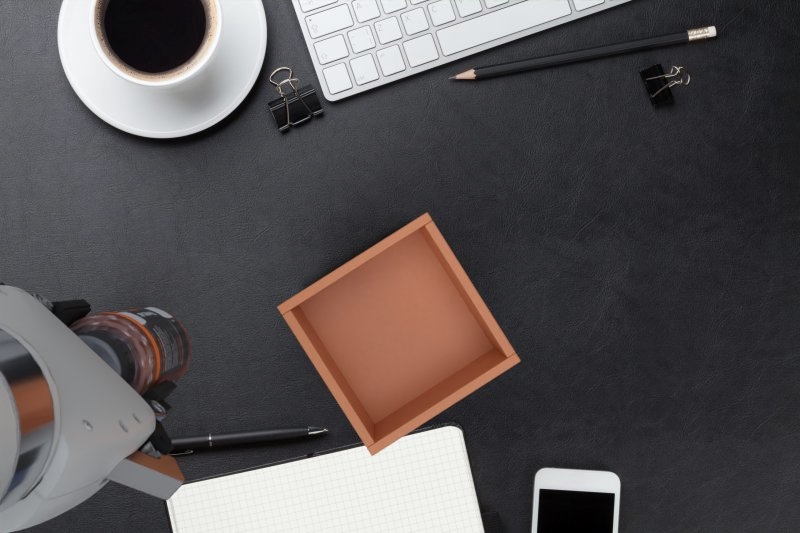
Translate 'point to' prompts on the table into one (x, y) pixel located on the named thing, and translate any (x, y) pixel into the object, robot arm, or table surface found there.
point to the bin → (399, 333)
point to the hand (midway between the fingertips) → (112, 362)
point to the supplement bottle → (138, 344)
